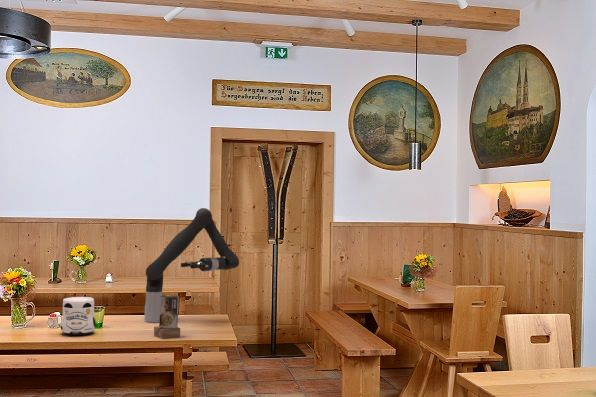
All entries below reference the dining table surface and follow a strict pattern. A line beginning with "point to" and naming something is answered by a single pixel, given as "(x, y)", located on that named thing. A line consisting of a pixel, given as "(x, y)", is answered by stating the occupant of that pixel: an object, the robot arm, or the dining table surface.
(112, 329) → the dining table surface
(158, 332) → the walnut block
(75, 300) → the milk container
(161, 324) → the coffee box
